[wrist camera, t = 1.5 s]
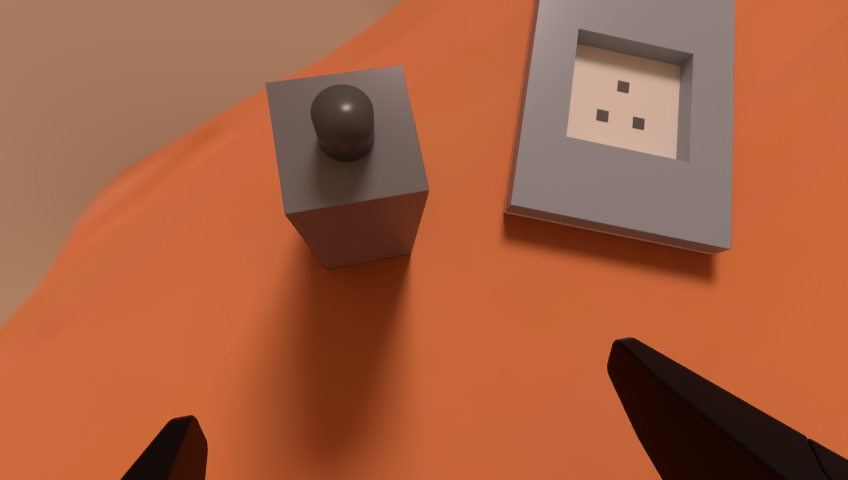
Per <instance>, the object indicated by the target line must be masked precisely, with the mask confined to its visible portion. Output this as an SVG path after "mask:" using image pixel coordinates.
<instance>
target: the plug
mask: <svg viewBox="0 0 848 480" xmlns="http://www.w3.org/2000/svg"><path fill="white" fill-rule="evenodd" d="M266 88H267V95H268V101H269V108H270V115H271V122H272V129H273V136H274V143H275V150H276V157H277V164H278V170H279V177H280V184H281V191H282V198H283V205H284V212H285V215H286V216H287V218H288V219H289V220H290V222H291V223H292V224H293V226H294V227H295V228H296V230H297V231H298V232H299V234H300V235H301V236H302V238H303V239H304V240H305V242H306V243H307V244H308V246H309V247H310V248H311V250H312V251H313V252H314V254H315V255H316V256H317V258H318V259H319V261H320V262H321V263H322V265H323V266H324V267H325V269H330V268H336V267H341V266H346V265H352V264H357V263H363V262H368V261H374V260H379V259H384V258H390V257H395V256H401V255H406V254H411V252H412V249H413V245H414V242H415V238H416V235H417V231H418V228H419V224H420V221H421V217H422V214H423V210H424V207H425V203H426V200H427V196H428V193H429V186H428V182H427V177H426V173H425V168H424V163H423V159H422V154H421V150H420V145H419V141H418V136H417V131H416V127H415V122H414V118H413V113H412V109H411V104H410V99H409V95H408V90H407V86H406V81H405V76H404V72H403V67H402V65H400V66H393V67H385V68H377V69H370V70H362V71H354V72H347V73H339V74H331V75H324V76H316V77H308V78H301V79H293V80H285V81H278V82H270V83H266Z"/></svg>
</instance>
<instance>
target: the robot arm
mask: <svg viewBox="0 0 848 480" xmlns="http://www.w3.org/2000/svg"><path fill="white" fill-rule="evenodd" d="M607 370H608V374H609V377H610V379H611V381H612V383H613V386H614V388H615V390H616V392H617V394H618V396H619V398H620V401H621V403H622V405H623V407H624V409H625V411H626V414H627V416H628V418H629V420H630V422H631V424H632V427H633V429H634V431H635V433H636V435H637V437H638V439H639V440H640V442H641V444H642V446H643V447H644V449H645V451H646V453H647V454H648V456H649V458H650V459H651V461H652V463H653V464H654V466H655V468H656V470H657V471H658V473H659V475H660V476H661V478H662V480H848V460H847V459H845V458H844V457H842V456H840V455H838V454H836V453H835V452H833V451H831V450H829V449H827V448H826V447H824V446H822V445H820V444H819V443H817V442H815V441H813V440H812V439H807V437H806V436H804V435H803V434H801V433H799V432H798V431H796V430H794V429H792V428H791V427H789V426H787V425H785V424H784V423H782V422H780V421H778V420H777V419H775V418H773V417H771V416H770V415H768V414H766V413H764V412H763V411H761V410H759V409H757V408H756V407H754V406H752V405H750V404H749V403H747V402H745V401H743V400H742V399H740V398H738V397H736V396H735V395H733V394H731V393H729V392H728V391H726V390H724V389H722V388H721V387H719V386H717V385H715V384H714V383H712V382H710V381H708V380H707V379H705V378H703V377H701V376H700V375H698V374H696V373H694V372H693V371H691V370H689V369H687V368H686V367H684V366H682V365H680V364H679V363H677V362H675V361H673V360H672V359H670V358H668V357H666V356H665V355H663V354H661V353H660V352H658V351H656V350H654V349H653V348H651V347H649V346H647V345H646V344H644V343H642V342H640V341H639V340H637V339H635V338H631V337H629V338H623V339H617V340H615V341H614V342H613V344H612V348H611V352H610V356H609V359H608V363H607ZM207 453H208V446H207V440H206V438H205V436H204V434H203V431H202V429H201V427H200V425H199V423H198V421H197V419H196V417H194V416H193V415H189V416H183V417H178V418H174V419H172V420H170V421H169V422H168V423H167V424H166V425H165V426H164V428H163V429H162V430H161V431H160V433H159V434H158V435H157V436H156V437H155V439H154V440H153V441H152V442H151V443H150V445H149V446H148V447H147V448H146V449H145V451H144V452H143V453H142V454H141V455H140V457H139V458H138V459H137V460H136V461H135V463H134V464H133V465H132V466H131V467H130V469H129V470H128V471H127V472H126V473H125V475H124V476H123V477H122V478H121V479H120V480H205V475H206V464H207Z"/></svg>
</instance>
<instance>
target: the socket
mask: <svg viewBox="0 0 848 480" xmlns="http://www.w3.org/2000/svg"><path fill="white" fill-rule="evenodd" d="M734 27H735V0H534V6H533V13H532V20H531V27H530V34H529V40H528V47H527V54H526V61H525V68H524V75H523V82H522V89H521V96H520V102H519V109H518V116H517V123H516V130H515V137H514V144H513V151H512V158H511V165H510V171H509V178H508V185H507V192H506V199H505V206H504V213H507V214H512V215H517V216H522V217H527V218H532V219H537V220H541V221H546V222H551V223H556V224H561V225H566V226H571V227H576V228H581V229H586V230H591V231H596V232H601V233H606V234H611V235H616V236H621V237H626V238H631V239H636V240H641V241H646V242H651V243H655V244H660V245H665V246H670V247H675V248H680V249H685V250H690V251H695V252H700V253H705V254H710V255H712V254H716V253H719V252H723V251H726V250H730V249H731V229H732V161H733V94H734Z"/></svg>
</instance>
